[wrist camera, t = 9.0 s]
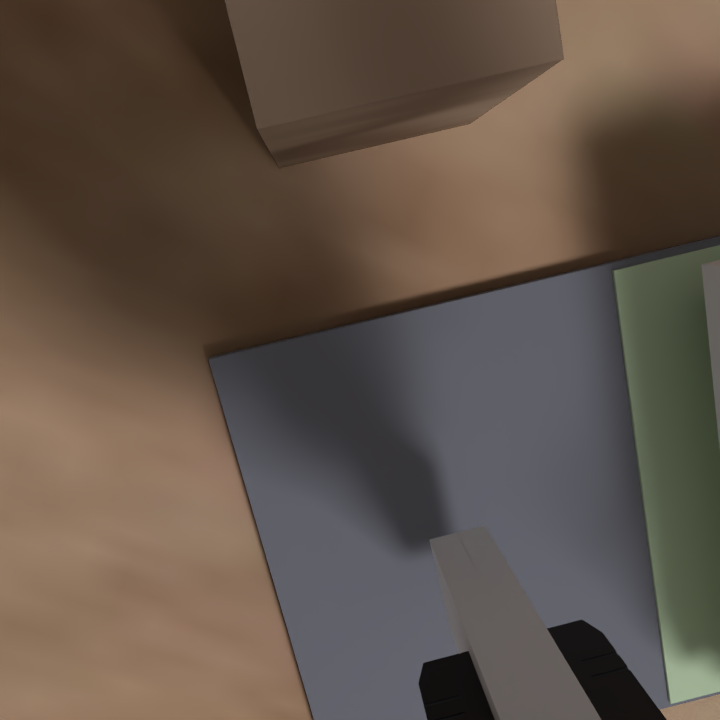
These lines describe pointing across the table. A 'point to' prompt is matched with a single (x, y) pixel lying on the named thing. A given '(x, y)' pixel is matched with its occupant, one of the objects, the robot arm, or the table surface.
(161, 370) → the table surface
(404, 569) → the grey holder base
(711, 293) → the white tray
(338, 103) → the block
